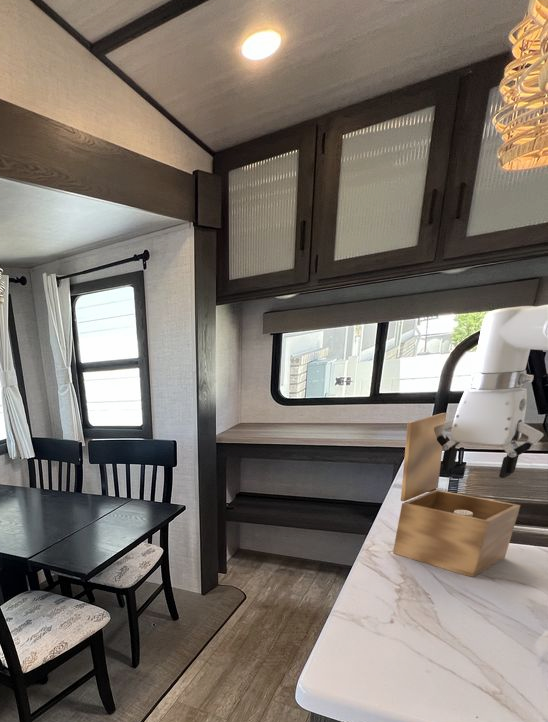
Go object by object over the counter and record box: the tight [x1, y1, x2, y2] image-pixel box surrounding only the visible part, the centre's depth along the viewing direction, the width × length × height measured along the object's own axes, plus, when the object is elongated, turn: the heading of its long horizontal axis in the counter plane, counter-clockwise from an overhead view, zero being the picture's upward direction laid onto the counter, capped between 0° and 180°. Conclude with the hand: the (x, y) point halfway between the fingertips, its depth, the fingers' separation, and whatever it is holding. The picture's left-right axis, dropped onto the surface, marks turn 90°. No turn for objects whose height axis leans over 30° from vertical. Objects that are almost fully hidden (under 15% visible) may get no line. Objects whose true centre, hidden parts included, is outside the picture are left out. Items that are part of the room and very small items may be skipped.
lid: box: [400, 412, 447, 502], centre depth 100 cm, size 16×14×1 cm
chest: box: [392, 489, 521, 578], centre depth 99 cm, size 16×14×12 cm
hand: (475, 472), depth 93 cm, fingers open, 9 cm apart
